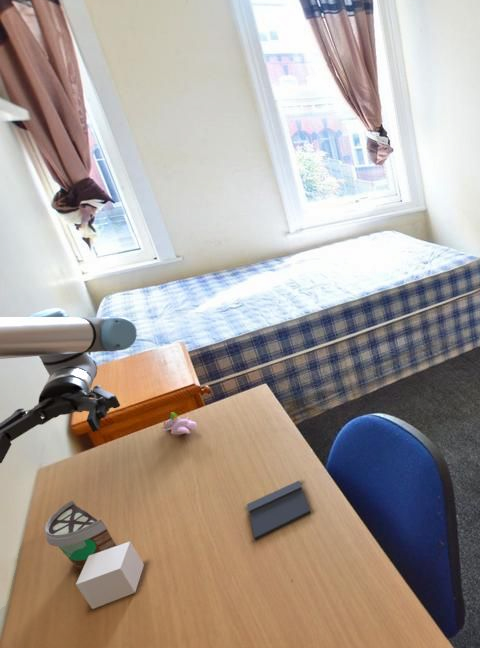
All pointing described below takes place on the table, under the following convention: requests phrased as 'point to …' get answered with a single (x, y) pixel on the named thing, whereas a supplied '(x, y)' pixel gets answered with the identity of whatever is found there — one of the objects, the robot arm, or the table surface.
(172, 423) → the rabbit figure
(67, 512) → the food container
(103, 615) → the table surface
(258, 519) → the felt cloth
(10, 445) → the robot arm
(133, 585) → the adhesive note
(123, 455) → the table surface
